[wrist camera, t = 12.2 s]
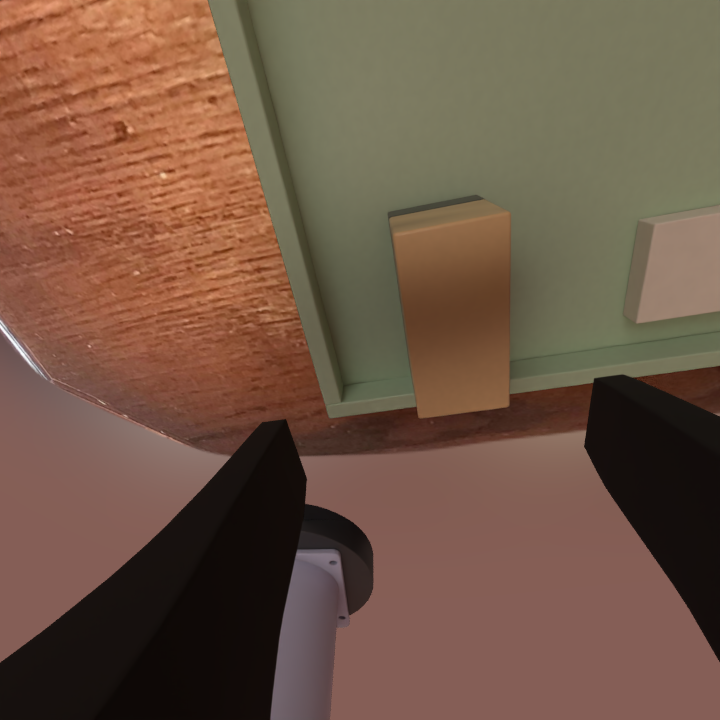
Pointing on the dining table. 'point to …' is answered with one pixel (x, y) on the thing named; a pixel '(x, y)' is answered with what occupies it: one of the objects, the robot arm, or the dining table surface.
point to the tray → (479, 167)
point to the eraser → (455, 302)
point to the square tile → (675, 266)
